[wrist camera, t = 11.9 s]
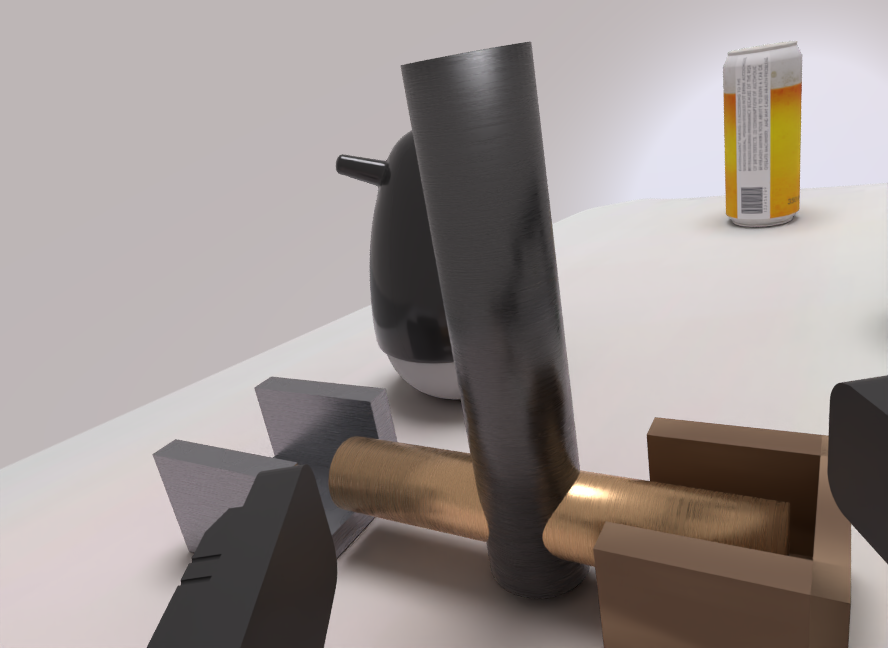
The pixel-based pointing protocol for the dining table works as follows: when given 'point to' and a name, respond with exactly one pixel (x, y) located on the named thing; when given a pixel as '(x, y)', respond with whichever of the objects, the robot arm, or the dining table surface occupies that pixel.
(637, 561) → the socket
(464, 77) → the copper and grey mallet
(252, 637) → the robot arm
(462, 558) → the dining table surface
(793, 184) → the beer can
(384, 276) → the pump dispenser
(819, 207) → the dining table surface
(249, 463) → the guide channel
